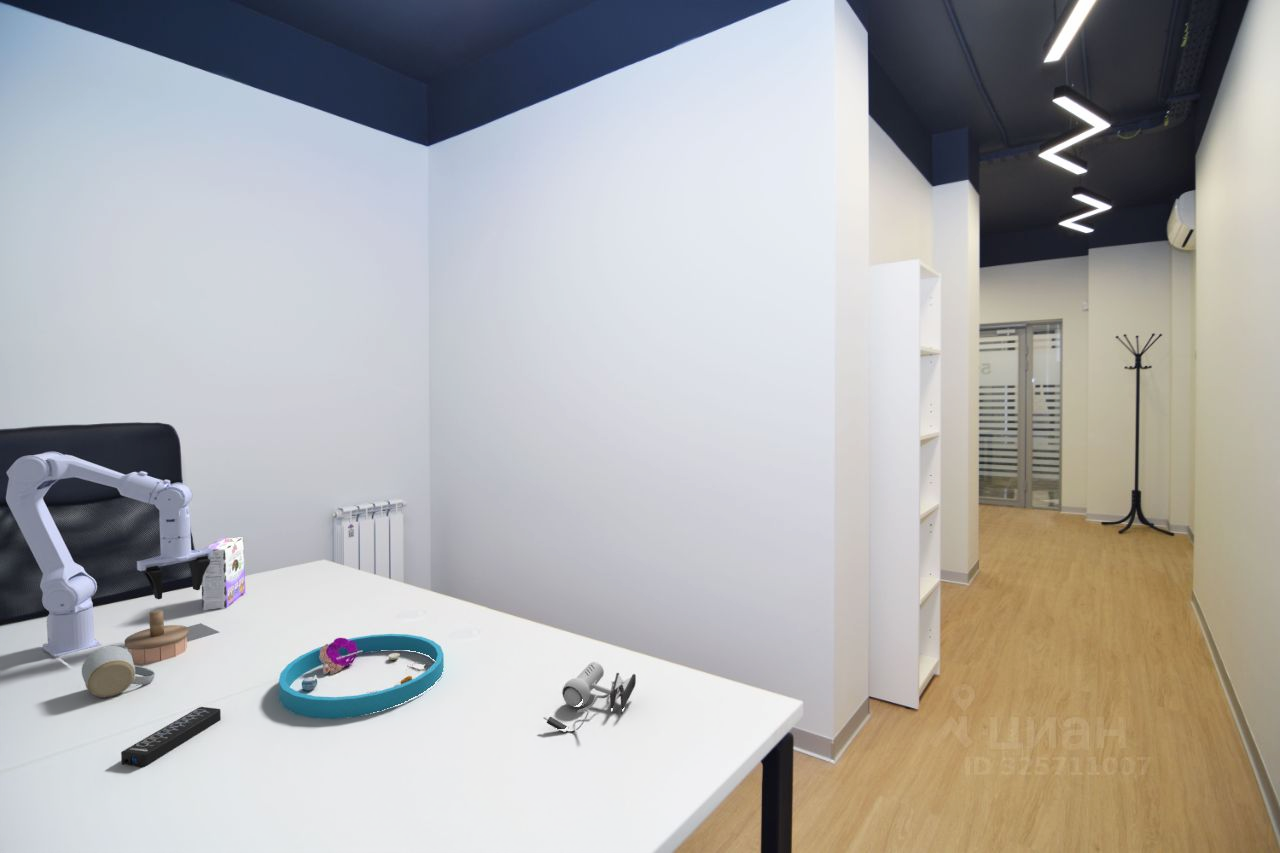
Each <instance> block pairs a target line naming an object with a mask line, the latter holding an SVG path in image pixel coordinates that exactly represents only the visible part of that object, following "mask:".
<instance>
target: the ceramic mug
mask: <svg viewBox="0 0 1280 853" xmlns="http://www.w3.org/2000/svg"><path fill="white" fill-rule="evenodd" d="M155 675H156V673H155V671H154V670H152V669H151V668H148V667H143V666H141V665H135V663H133V659H132V656H131V654H130V653H129V652H128V651H127V648H123V647H121V646H118V645H109V646H105V647H101V648H99V649H97V650H95V651H93V652H91V653H90V654H89V655H88V656H87V657H86V658H85V661H84V662H83V663H82V666H81V676H82V679H83V681H84V684H85V687H86V689H87V691H89V693H91V695H93V696H96V697H99V698H110V697H114V696H117V695H119V694H121V693H123V692H124V691H126V690H127V689H128V688H129V687H131V685H148V684H150V683H152V682H153V680H154V678H155Z"/></svg>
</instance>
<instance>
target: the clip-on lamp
mask: <svg viewBox="0 0 1280 853" xmlns="http://www.w3.org/2000/svg"><path fill="white" fill-rule="evenodd" d="M604 673H605V671H604V668H603V666H602V664H600V663H599V662H596V661H591V662H590V663H589V664H588V665H587V666H585V667H584V669H583V670H582V671H581V672H580V673H579V675H577V676H576V677H575V678H571V679H569V680H568V681H567V682H566V683H565V684H564V685H563V686H562V693H561V694H562V697H563V700H564V702H565V704H567V706H569V707H572V706H576V705H578V704H579V703H580V702H581V701H582V699H583V703H582V705H581V706H582V707H584V706H585V705H586V704H587V703H588V702H589V699H590V695H591V691H592V690H595V691H598V692H601V693H604V695H600V694H597V695H594V697H593V699H592V702H591V704H589V705H588V706H585V707H584V708H581V709H578V710H577V712H576V713H577V714H580V713H584V712H586V714H585V717H584V718H583V720H582V722H581V723H580V724H579V726H577V728H576V730H577V731H579V729H580V728H581V727H582V725H583V724H584V723H585V721H586V719H587V718H588V716H589V712H590V711H589V709H590V708H591V707H593V706H594V704H595V703H596V700H597V699H606V698H608V697H609V704H610V706H609V707H610V708H613V706H614V707H615V704H616V700H618V699H619V698H620V709H621V708H622V709H623V708H624V706H625V707H626V705H625V704H627V703H628V701H629V699H630V697H631V695H632V693H633V691H634V689H635V687H636V683H637V682H636V681H637V680H636V678H637V677H636V674H635V673H633V674H632V675H631V677H629V678H627V679H625V680H623V679H622V677H621V676H620V673H619V672H616V674H615V677H614V678H615V679H614V681H612V680H611V687H610V688H607V687H605V686H602V685H599V684H598V683H599V682H600V681H601V679H602V678H603V677H604ZM584 704H585V705H584ZM543 719H544V720H546V724H547V725H550V726H551V727H553V728H554V729H556V728H557V729H556V730H558V729H565V728H566V727H567V726H568V725H566V724H564V723H562V722H561V721H559V720H558V719H555V718H553V717H552V716H549V717H546V716H544V717H543Z"/></svg>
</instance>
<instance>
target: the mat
mask: <svg viewBox="0 0 1280 853" xmlns="http://www.w3.org/2000/svg"><path fill="white" fill-rule="evenodd" d="M186 627H187V628H188V636H187V643H189V642H191V641H195V640H198V639H202V638H206V637H208V636H212V635H215V634H219V633H220V631H218V630H217V629H214V628H212V627H210V626H208V625H206V624H204V623H202V622H201V623H200V622H199V623H197V624H193V625H189V626H186Z"/></svg>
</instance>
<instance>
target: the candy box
mask: <svg viewBox="0 0 1280 853" xmlns="http://www.w3.org/2000/svg"><path fill="white" fill-rule="evenodd" d="M244 547H245V546H244V537H243V536H239V537H237V536H236V537H221V538H219V539H218V540H216V541H214V542H213V543H212V544H209V545H208V546H206V547H205V548H203V549H206V548H211V549H213V557H209V558H208V559H210V564H209V566H208V567H207V569H206V571H205V573H204V576H203V579H202V582H201V603H202V604H201V606H202V608H201V609H202V611H210V610H211V611H213V610H226V609H228V608H229V607H230V606H231V605H232V604H234V603H235V602H236V601H237V600H238V599H239V598H241V597H243V595H245V594H246V575H245V549H244Z"/></svg>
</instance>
